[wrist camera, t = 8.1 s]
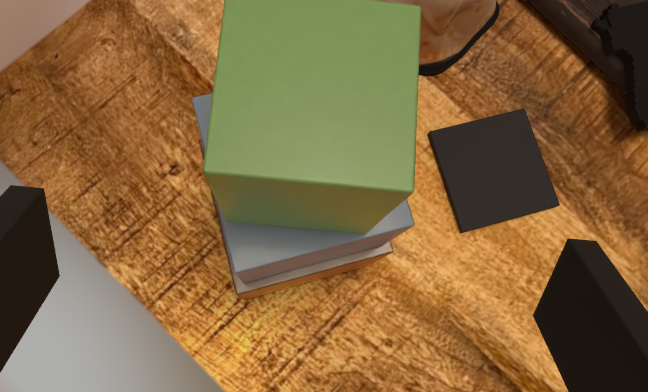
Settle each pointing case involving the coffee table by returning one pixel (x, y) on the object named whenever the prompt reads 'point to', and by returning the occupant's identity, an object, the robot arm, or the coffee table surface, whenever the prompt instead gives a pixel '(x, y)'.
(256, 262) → the blue block
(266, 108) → the green block
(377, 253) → the block
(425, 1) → the figurine
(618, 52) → the toy gun
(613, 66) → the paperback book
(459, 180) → the rubber pad
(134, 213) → the coffee table surface
